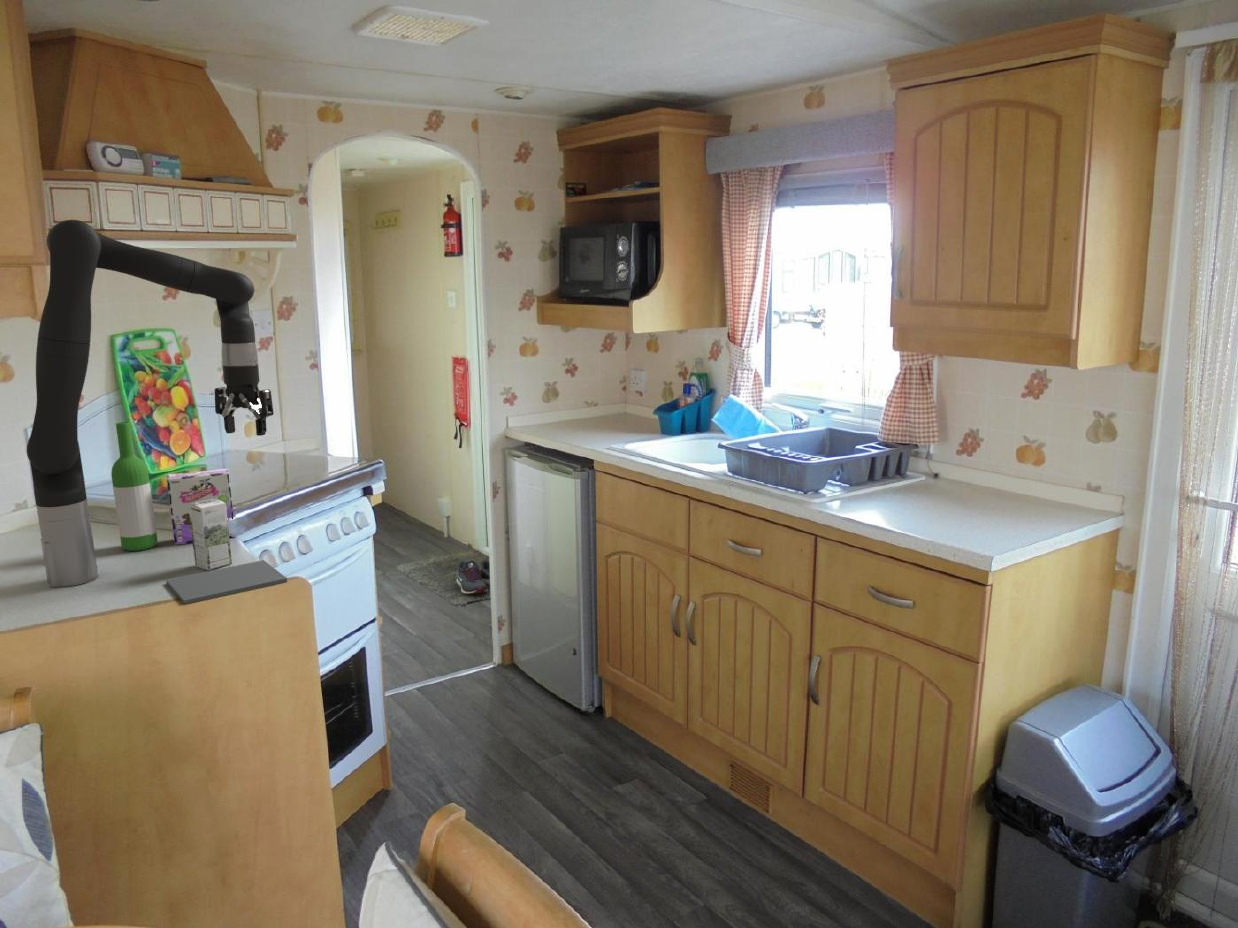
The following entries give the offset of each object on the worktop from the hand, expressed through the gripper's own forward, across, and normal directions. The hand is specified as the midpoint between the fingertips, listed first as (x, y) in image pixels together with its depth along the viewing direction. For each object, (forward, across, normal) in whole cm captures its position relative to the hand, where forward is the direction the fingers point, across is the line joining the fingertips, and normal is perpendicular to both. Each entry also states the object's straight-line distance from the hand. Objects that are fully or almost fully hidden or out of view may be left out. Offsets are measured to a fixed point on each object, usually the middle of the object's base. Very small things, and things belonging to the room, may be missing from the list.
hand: (246, 434), depth 215 cm
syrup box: (+28, 0, -13) cm, 31 cm away
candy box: (+28, -18, +3) cm, 33 cm away
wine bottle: (+28, -28, -7) cm, 40 cm away
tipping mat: (+27, +11, -22) cm, 37 cm away
